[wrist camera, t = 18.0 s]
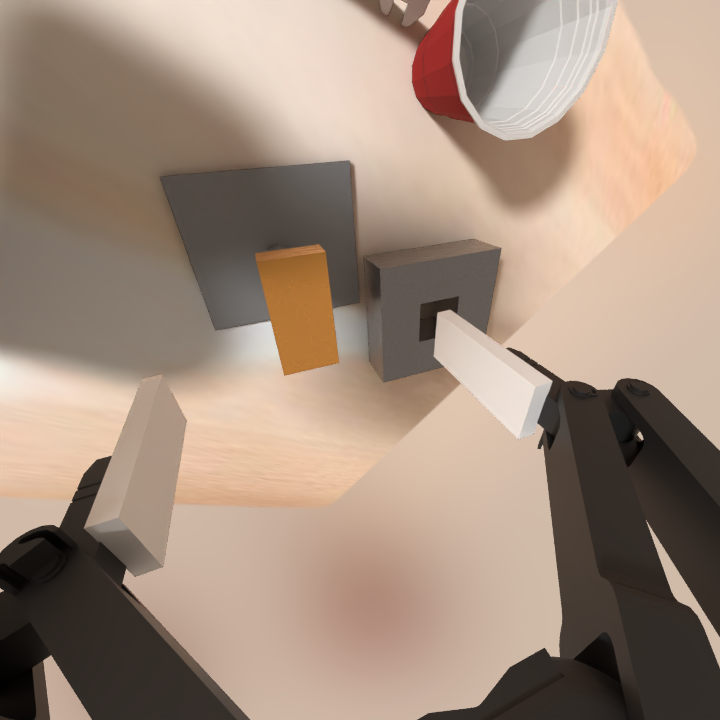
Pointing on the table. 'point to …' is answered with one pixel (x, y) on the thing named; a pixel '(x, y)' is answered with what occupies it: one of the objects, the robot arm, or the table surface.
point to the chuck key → (299, 305)
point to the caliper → (407, 10)
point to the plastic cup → (511, 61)
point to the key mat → (263, 230)
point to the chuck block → (424, 300)
